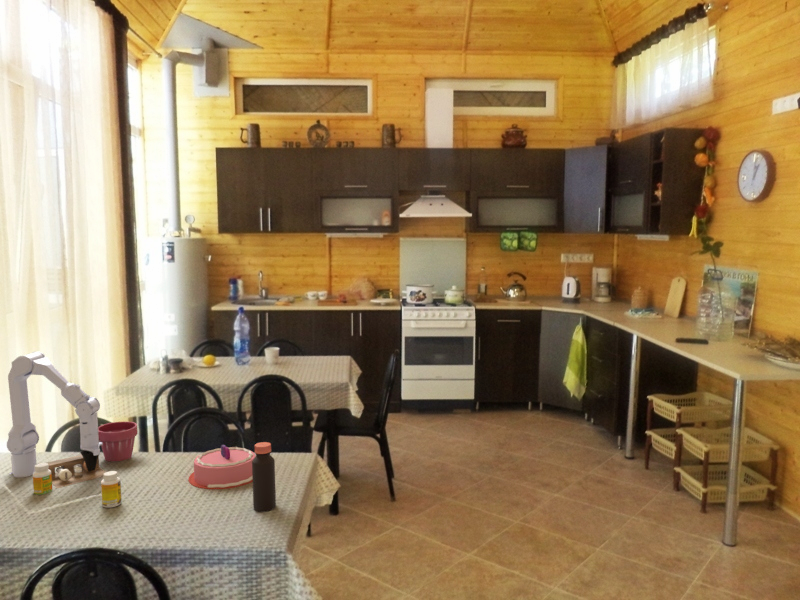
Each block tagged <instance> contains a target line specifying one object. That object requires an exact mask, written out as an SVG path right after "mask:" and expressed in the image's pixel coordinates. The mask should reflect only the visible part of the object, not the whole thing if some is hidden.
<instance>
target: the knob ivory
mask: <svg viewBox="0 0 800 600" xmlns="http://www.w3.org/2000/svg"><path fill="white" fill-rule="evenodd" d="M55 472H56V473H57V472H58V473H59V478H60V479H61V480H63V481H67V480H69V479H70V478H71V476H72V473H71V472H70V471H69V470H68V469H62V468H61V466H60V467H56V468H55Z"/></svg>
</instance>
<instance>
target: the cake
mask: <svg viewBox="0 0 800 600" xmlns="http://www.w3.org/2000/svg"><path fill="white" fill-rule="evenodd" d="M255 457H256V454H255V451H254V452H253V451H252V450H250V449H247V448H245V447H237V446H232V447H231V446H230V447H228V446H226V445H225V444H221V445H220V448H215V449H211V450H207V451H205V452H203V453H200V454H199V455H197V456H196V457H195V459H194V461H193V471H192V473H190V475H188V476H189V477H188V479H187V480H188V483H189V485H191V486H193V487H195V488H199V489H203V490H226V489H233V488H238V487H243V486H246V485H248V484H251V483H253V479H252V461H253V459H254V458H255Z"/></svg>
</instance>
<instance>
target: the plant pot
mask: <svg viewBox="0 0 800 600" xmlns="http://www.w3.org/2000/svg"><path fill="white" fill-rule="evenodd" d="M137 435H138V424H137V423H136V422H134V421H113V422H108V423H105V424H101V425H100V426H99V425H98V436H99V442H102V443H103V445H100V446H101V450H102V453H103V457H104V461H106V462H120V461H125V460H127V459H132V456H133V452H134V451H133V450H134V446H135V439H136V436H137Z"/></svg>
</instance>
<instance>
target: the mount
mask: <svg viewBox="0 0 800 600" xmlns="http://www.w3.org/2000/svg"><path fill="white" fill-rule="evenodd" d="M83 461H85V460H84V458H83V456H82V455H81V454H78V455H76V456H75V455H74V456H70V457H65V458H61V459H57V460H53V461H48V462H46V463H48V466H49V468H48V469H49V470H51V474H52V486H54V488H56V489H59V488H63V487H64V488H65V487H67V486H71V485H76V484H80V483H85V482H87V481H92V480H96V479H99V478H103V474H104V473H106V472H107V471H105V470H104V469H103V468H101V467H100V455H99V456H98V459H97V463H96V468H95V470H93V471H87V470H85V469H84V468H83ZM78 464H81V465H82V473H83V476H82V477H81V478H74V465H78ZM58 467H61V468H62V469H68V470H69V471H70V472H71V473H72V476H71V478H70V479H69V480H67V481H63V480H61V479H60V478H59V473H58V472H57V471H56V469H57V468H58Z"/></svg>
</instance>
